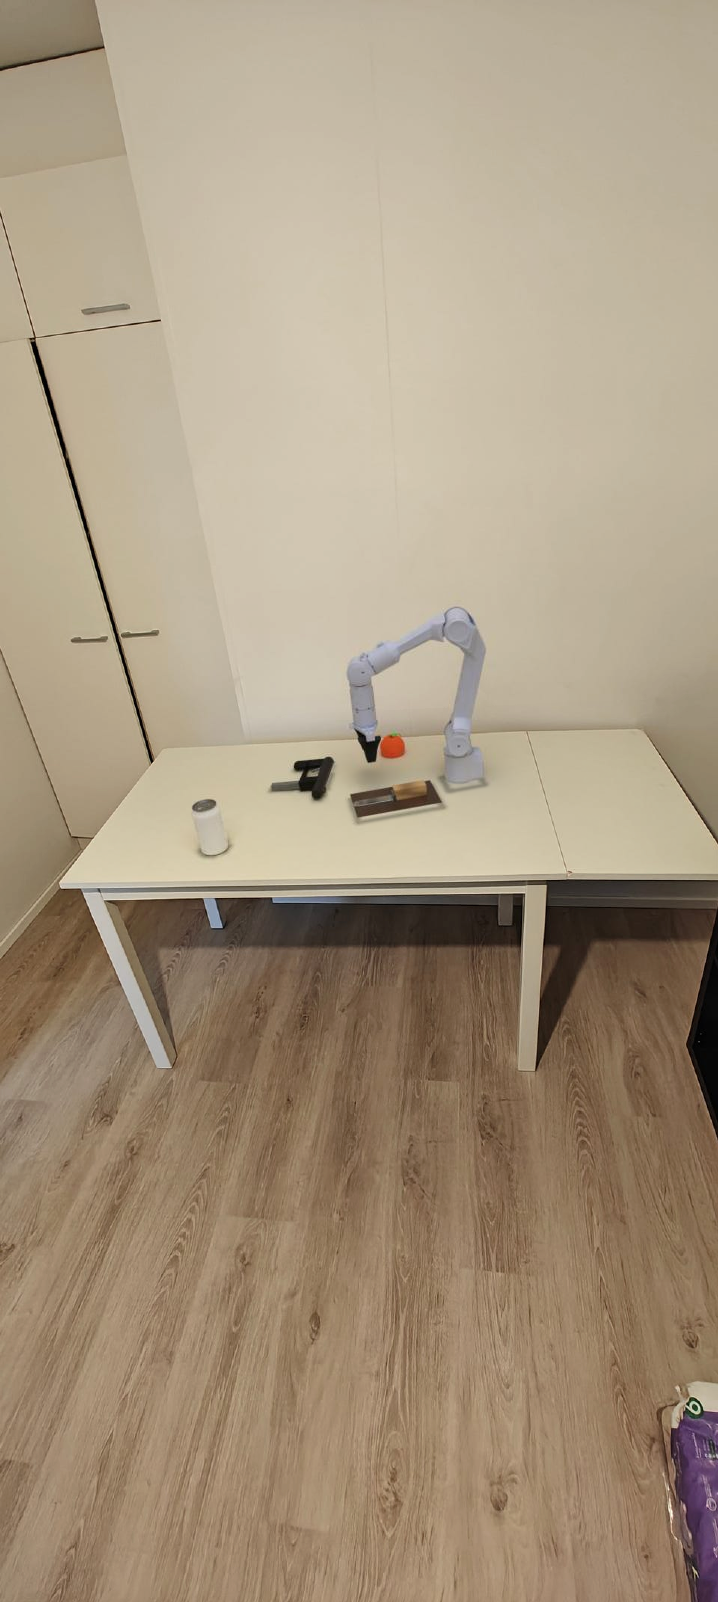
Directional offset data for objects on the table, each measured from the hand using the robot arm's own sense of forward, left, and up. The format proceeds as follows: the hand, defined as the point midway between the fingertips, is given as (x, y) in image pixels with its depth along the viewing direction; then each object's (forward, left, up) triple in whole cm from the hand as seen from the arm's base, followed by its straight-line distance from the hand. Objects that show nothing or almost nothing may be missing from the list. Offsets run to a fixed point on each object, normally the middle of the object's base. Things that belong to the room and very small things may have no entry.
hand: (368, 755), depth 181 cm
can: (+41, +16, -10) cm, 45 cm away
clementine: (-9, -15, -10) cm, 20 cm away
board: (-4, +10, -9) cm, 14 cm away
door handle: (+17, -9, -10) cm, 22 cm away
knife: (-3, +10, -8) cm, 13 cm away
